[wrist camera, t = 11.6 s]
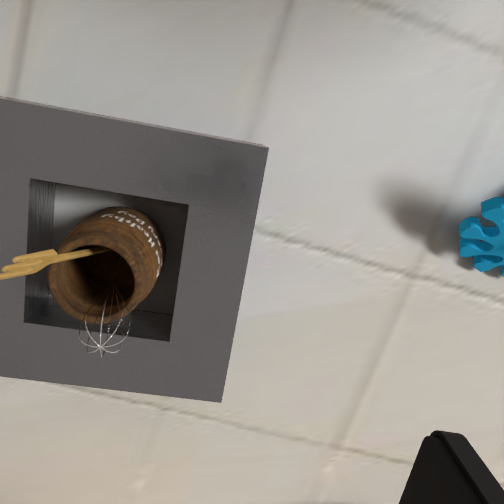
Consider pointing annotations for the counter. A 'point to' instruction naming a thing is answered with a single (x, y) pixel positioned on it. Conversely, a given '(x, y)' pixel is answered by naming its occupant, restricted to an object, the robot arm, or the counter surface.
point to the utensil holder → (100, 267)
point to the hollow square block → (138, 184)
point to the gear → (484, 237)
